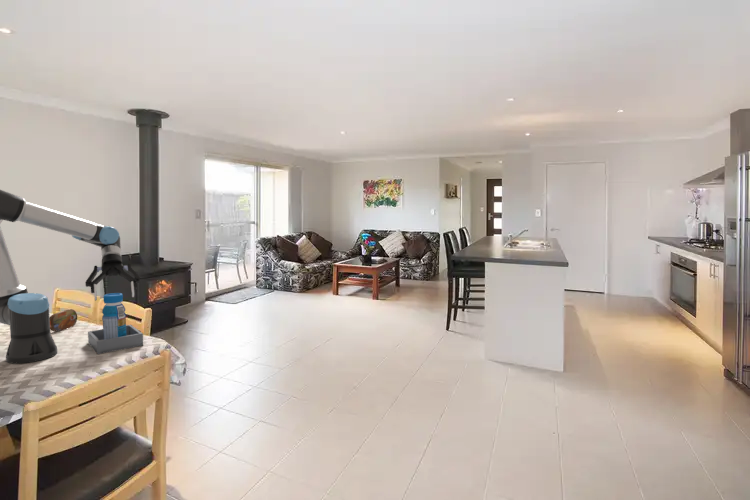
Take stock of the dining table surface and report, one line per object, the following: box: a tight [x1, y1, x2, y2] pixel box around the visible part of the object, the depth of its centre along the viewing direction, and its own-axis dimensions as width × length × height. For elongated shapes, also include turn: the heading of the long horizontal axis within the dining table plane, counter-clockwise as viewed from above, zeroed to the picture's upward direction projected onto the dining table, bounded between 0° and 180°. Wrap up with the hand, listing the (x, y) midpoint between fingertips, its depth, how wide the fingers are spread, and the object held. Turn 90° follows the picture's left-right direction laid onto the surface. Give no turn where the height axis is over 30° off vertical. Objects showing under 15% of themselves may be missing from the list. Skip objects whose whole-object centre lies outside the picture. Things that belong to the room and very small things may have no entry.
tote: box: [87, 324, 144, 355], centre depth 175 cm, size 18×16×5 cm
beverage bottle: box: [101, 292, 127, 340], centre depth 174 cm, size 8×8×20 cm
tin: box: [49, 308, 78, 332], centre depth 196 cm, size 15×3×8 cm, turn 179°
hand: (114, 297), depth 179 cm, fingers open, 13 cm apart
